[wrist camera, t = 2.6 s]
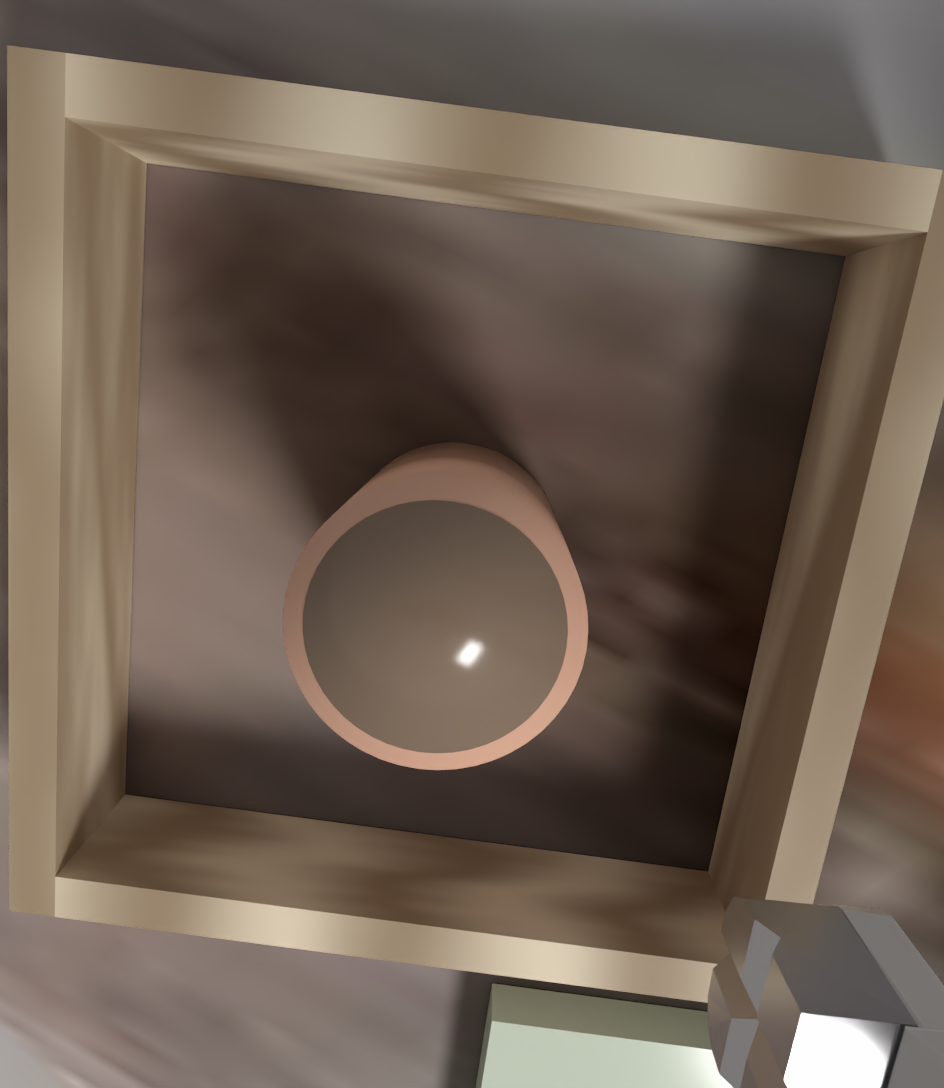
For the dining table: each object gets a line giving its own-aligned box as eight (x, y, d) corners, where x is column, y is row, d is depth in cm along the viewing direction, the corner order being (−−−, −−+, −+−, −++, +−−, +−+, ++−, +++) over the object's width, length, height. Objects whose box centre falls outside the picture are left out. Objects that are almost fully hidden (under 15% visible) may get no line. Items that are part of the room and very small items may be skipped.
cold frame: (903, 212, 20) (1001, 177, 16) (739, 910, 25) (784, 1012, 21) (101, 105, 20) (7, 45, 16) (85, 823, 25) (9, 910, 21)
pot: (575, 457, 22) (612, 501, 15) (542, 662, 23) (563, 789, 16) (357, 428, 22) (294, 459, 15) (337, 635, 23) (271, 750, 16)
